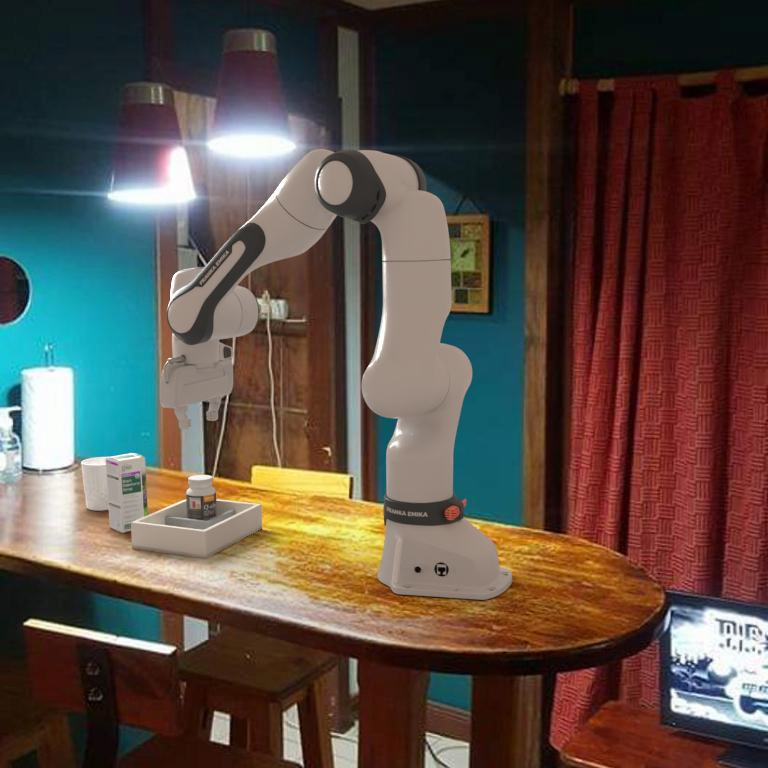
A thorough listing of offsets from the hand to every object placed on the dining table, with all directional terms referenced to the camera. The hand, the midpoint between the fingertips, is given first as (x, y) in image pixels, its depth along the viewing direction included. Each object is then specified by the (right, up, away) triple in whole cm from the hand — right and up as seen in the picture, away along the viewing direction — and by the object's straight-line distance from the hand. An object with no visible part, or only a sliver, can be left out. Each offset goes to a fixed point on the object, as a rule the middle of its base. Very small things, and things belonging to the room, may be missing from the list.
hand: (198, 424), depth 199 cm
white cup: (-24, -19, +21) cm, 37 cm away
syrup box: (-15, -21, +5) cm, 26 cm away
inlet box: (0, -22, -2) cm, 22 cm away
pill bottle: (0, -20, +3) cm, 21 cm away
